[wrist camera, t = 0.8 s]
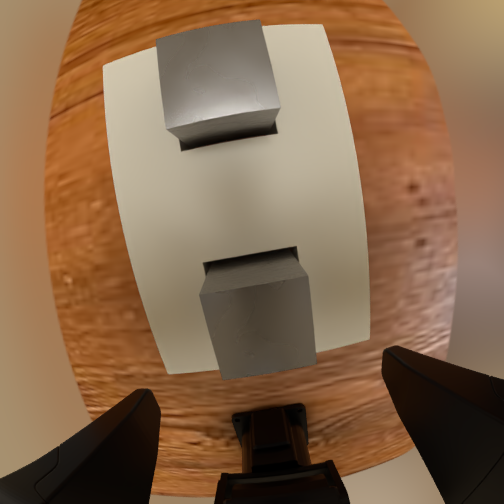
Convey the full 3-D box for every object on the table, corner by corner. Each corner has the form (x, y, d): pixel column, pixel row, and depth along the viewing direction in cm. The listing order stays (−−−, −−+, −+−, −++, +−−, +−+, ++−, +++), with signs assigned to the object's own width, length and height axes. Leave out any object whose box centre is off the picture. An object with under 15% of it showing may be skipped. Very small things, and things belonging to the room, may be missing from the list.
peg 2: (296, 314, 16) (316, 363, 11) (227, 326, 16) (222, 380, 11) (287, 246, 15) (308, 275, 10) (212, 260, 15) (198, 294, 10)
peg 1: (268, 134, 13) (281, 107, 9) (191, 148, 14) (166, 129, 9) (254, 67, 13) (259, 19, 8) (181, 81, 13) (155, 39, 8)
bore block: (343, 306, 20) (369, 339, 15) (183, 334, 20) (168, 374, 15) (304, 59, 16) (322, 24, 11) (133, 90, 16) (103, 65, 11)
